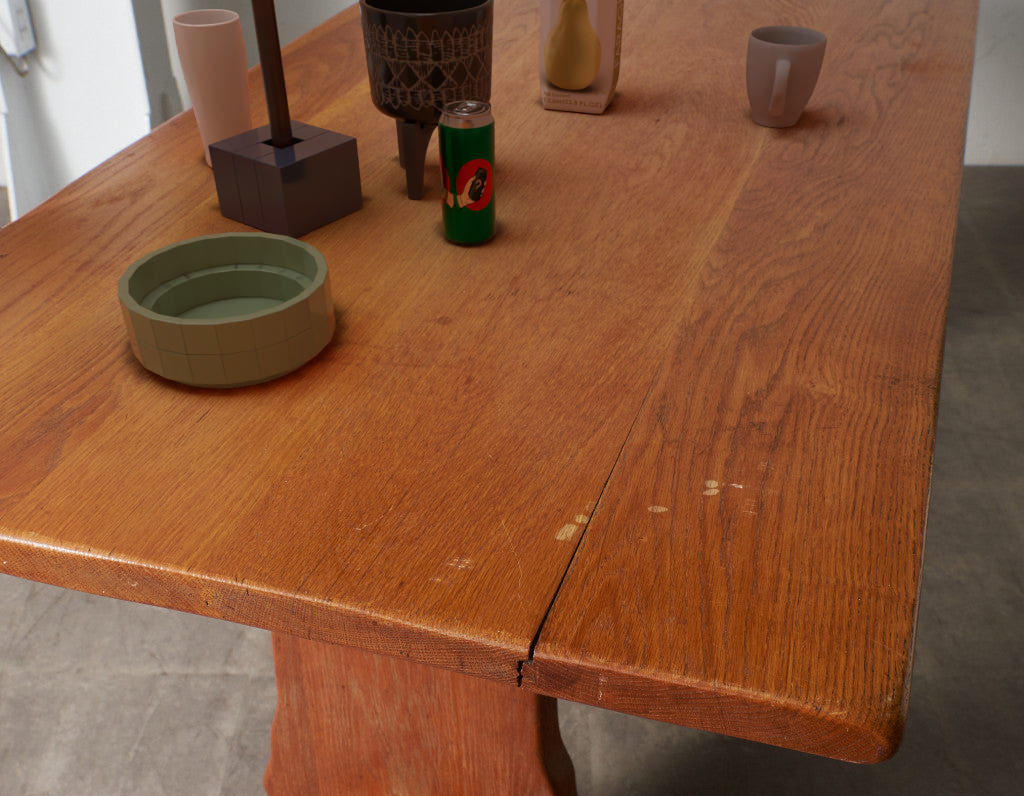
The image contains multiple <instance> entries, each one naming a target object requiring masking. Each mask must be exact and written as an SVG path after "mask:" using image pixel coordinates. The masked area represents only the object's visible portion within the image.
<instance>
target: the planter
mask: <svg viewBox="0 0 1024 796" xmlns="http://www.w3.org/2000/svg"><path fill="white" fill-rule="evenodd" d="M358 5H359V14H360V21H361V29H362V36H363V37H362V38H363V45H364V52H365V53H364V54H365V60H366V68H367V75H368V82H369V90H370V97H371V102H372V104H373V105H374V107H375V109H376V110H377V111H379V113H381V114H383V115H384V116H386V117H389V118H391V119H395V126H396V127H395V128H396V137H397V148H398V157H399V167H400V168H402V169H403V170H404V169H405V178H406V179H405V181H406V191H407V199H409V200H417V201H420V200H421V199H422V198H424V197H425V166H426V165H425V164H426V158H427V152H428V149H429V144H430V142H431V138H432V135H433V133H434V132H435V130H436V129H437V128H438V119H439V117H440V115H441V114H442V111H441V109H442V107H443V106H444V105H445V104H448V103H451V102H455V101H478V102H482V103H485V104H487V105H489V107H490V113H491V114H492V104H491V102H490V101H491V98H492V79H493V78H492V77H493V73H492V72H493V49H494V47H493V46H494V44H493V43H494V15H495V14H494V13H495V0H358Z"/></svg>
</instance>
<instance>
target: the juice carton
mask: <svg viewBox="0 0 1024 796" xmlns="http://www.w3.org/2000/svg"><path fill="white" fill-rule="evenodd" d="M624 10H625V0H539V34H538V35H539V43H538V44H539V45H538V47H539V48H538V49H539V50H538V81H539V89H540V95H541V101H542V106H543V108H544V109H546V110H552V111H553V110H554V111H562V112H563V111H564V112H573V113H574V112H575V113H583V114H593V115H601V114H603V112H604V111H605V110H606V108H607V107H608V106H609V105H610V104H611V102H612V100H613V98H614V96H615V93H616V90H617V86H618V82H619V78H620V70H621V60H622V59H621V58H622V57H621V56H622V43H623V42H622V41H623V26H624Z"/></svg>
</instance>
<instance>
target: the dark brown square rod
mask: <svg viewBox="0 0 1024 796" xmlns="http://www.w3.org/2000/svg"><path fill="white" fill-rule="evenodd" d="M250 4H251V11H252V17H253V25H254V30H255V31H254V32H255V37H256V44H257V51H258V56H259V57H258V58H259V65H260V70H261V71H260V72H261V78H262V84H263V91H264V97H265V105H266V110H267V117H268V118H267V119H268V124H270V131H271V138H272V144H273V147H276V148H279V149H281V150H282V149H284V148H287V147H290V146H292V145H294V142H293V135H292V128H291V120H290V119H291V115H290V114H291V113H290V107H289V100H288V92H287V85H286V78H285V71H284V63H283V62H284V61H283V56H282V49H281V41H280V34H279V27H278V20H277V12H276V5H275V0H250Z"/></svg>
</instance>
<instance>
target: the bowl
mask: <svg viewBox="0 0 1024 796" xmlns="http://www.w3.org/2000/svg"><path fill="white" fill-rule="evenodd" d="M117 298H118V302H119V305H120V310H121V313H122V316H123V320H124V323H125V327H126V331H127V334H128V338H129V342H130V346H131V349H132V353H133V355H134V356H135V358H136V359H137V360H138V362H139V363H140V364H141V365H142V366H143V368H144V369H146V370H148V371H150V372H152V373H154V374H156V375H158V376H160V377H162V378H164V379H167V380H171V381H174V382H176V383H179V384H182V385H186V386H191V387H195V388H196V387H197V388H203V389H204V388H205V389H234V388H242V387H243V388H244V387H248V386H255V385H259V384H264V383H267V382H271V381H273V380H276V379H277V380H278V378H282V377H284V376H286V375H289V374H290V373H293V372H295V371H296V370H299V368H301V367H303V366H304V365H306V364H307V363H308V362H309V361H311V360H312V359H313V358H315V357H317V356H318V355H319V354H320V352H321V351H322V350H323V349H325V347H326V346H328V344H329V343H330V342H331V341H332V338H333V335H334V332H335V329H336V324H337V323H336V317H335V308H334V300H333V292H332V284H331V276H330V269H329V266H328V263H327V260H326V257H325V255H324V254H323V253H322V252H321V251H320V250H318V248H316V247H314V245H312V244H310V243H308V242H306V241H303V240H299V239H297V238H295V239H294V238H292V237H288V236H284V235H277V234H271V233H269V232H265V231H263V232H262V231H229V232H219V233H211V234H203V235H198V236H195V237H190V238H186V239H182V240H179V241H174V242H172V243H169V244H167V245H165V246H162V247H160V248H157V249H155V250H153V251H150V252H147V253H145V254H144V255H143V256H141V257H140V258H138V259H137V260H136V261H134V262H132V263H131V264H130V265H128V266H127V268H126V269H125V271H124V272H123V273H122V275H121V276H120V277H119V278H118V281H117Z"/></svg>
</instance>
